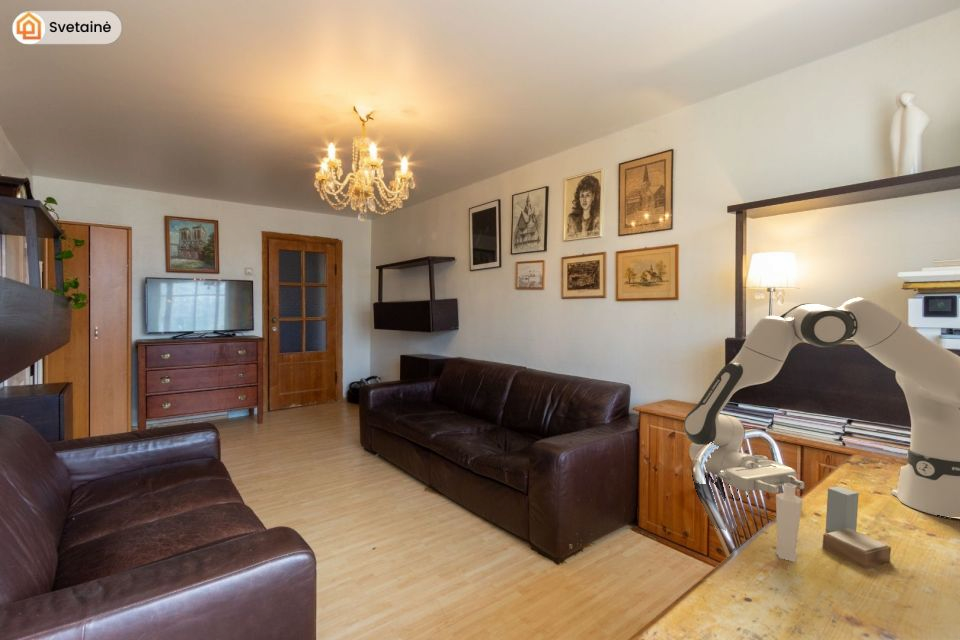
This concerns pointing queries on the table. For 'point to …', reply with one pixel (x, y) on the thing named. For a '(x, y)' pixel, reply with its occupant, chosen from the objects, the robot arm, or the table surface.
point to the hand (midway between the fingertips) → (789, 488)
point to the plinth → (857, 547)
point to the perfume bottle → (787, 522)
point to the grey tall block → (841, 509)
